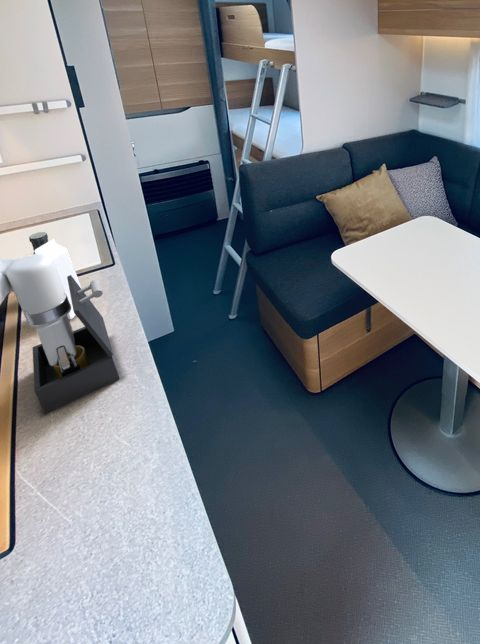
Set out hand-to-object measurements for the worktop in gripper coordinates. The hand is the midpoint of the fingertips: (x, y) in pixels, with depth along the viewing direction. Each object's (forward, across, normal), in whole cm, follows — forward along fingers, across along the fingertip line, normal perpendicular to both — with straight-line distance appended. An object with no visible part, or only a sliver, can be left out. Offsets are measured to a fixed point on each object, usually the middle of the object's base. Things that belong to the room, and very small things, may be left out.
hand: (73, 370), depth 94 cm
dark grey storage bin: (+1, 0, +1) cm, 2 cm away
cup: (+1, 0, 0) cm, 1 cm away
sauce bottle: (+2, -40, -1) cm, 40 cm away
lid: (-12, 0, +6) cm, 14 cm away
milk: (+2, -27, +1) cm, 27 cm away
